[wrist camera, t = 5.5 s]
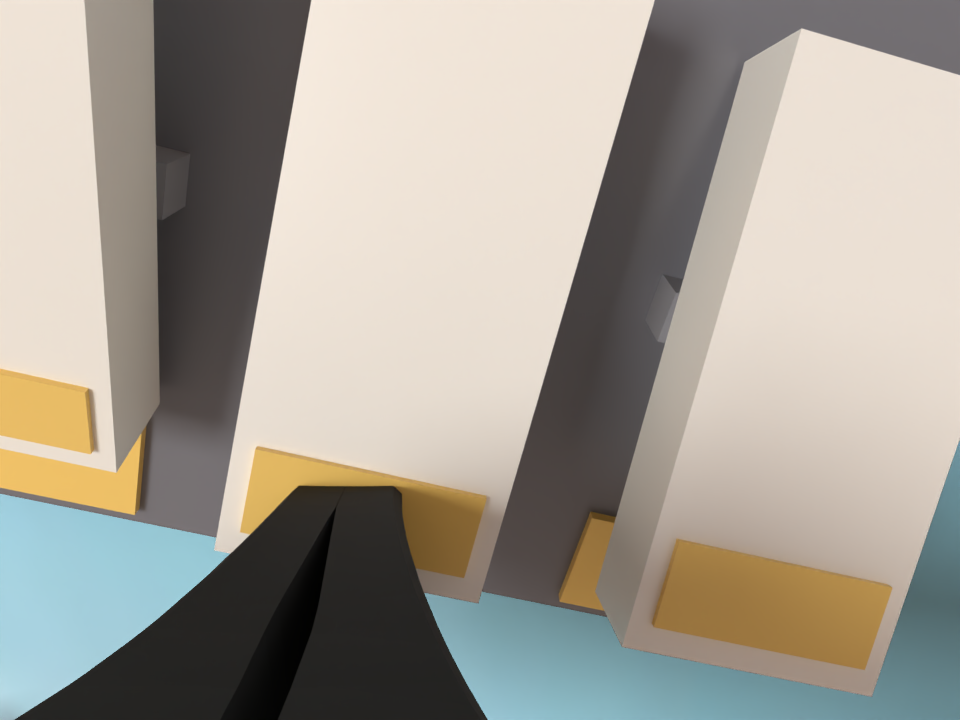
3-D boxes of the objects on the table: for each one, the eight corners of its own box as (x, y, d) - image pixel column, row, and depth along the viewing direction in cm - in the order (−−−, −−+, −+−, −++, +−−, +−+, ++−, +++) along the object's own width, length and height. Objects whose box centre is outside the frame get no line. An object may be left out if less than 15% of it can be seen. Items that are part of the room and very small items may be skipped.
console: (1097, -59, 11) (1229, -77, 9) (748, 607, 16) (784, 685, 14) (-120, -453, 9) (-279, -579, 7) (-73, 435, 14) (-158, 498, 12)
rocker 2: (627, 5, 10) (664, -23, 8) (474, 542, 12) (478, 607, 10) (352, -75, 9) (330, -121, 8) (246, 494, 11) (212, 554, 10)
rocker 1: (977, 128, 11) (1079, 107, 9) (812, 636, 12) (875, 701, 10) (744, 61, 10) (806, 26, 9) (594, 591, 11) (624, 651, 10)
